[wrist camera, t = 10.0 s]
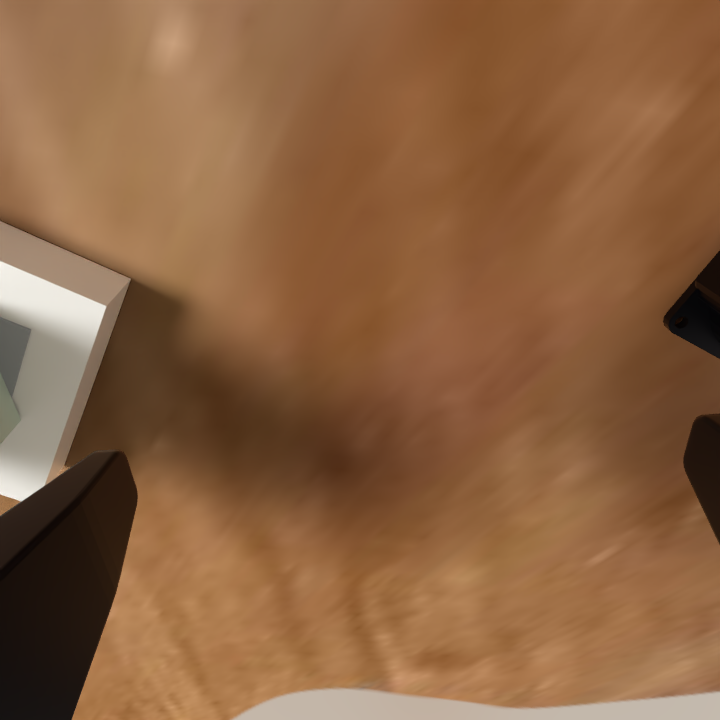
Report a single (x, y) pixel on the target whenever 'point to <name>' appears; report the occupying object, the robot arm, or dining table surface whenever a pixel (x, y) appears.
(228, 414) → the dining table surface
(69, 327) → the slab
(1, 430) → the pillar
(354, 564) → the dining table surface
